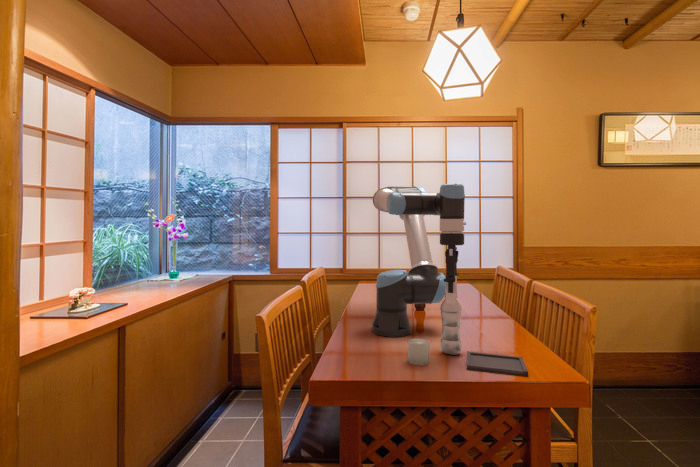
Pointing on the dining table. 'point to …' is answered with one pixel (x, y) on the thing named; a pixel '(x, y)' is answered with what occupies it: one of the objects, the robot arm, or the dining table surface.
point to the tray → (496, 363)
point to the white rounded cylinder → (418, 351)
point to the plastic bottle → (451, 327)
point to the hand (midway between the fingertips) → (451, 299)
